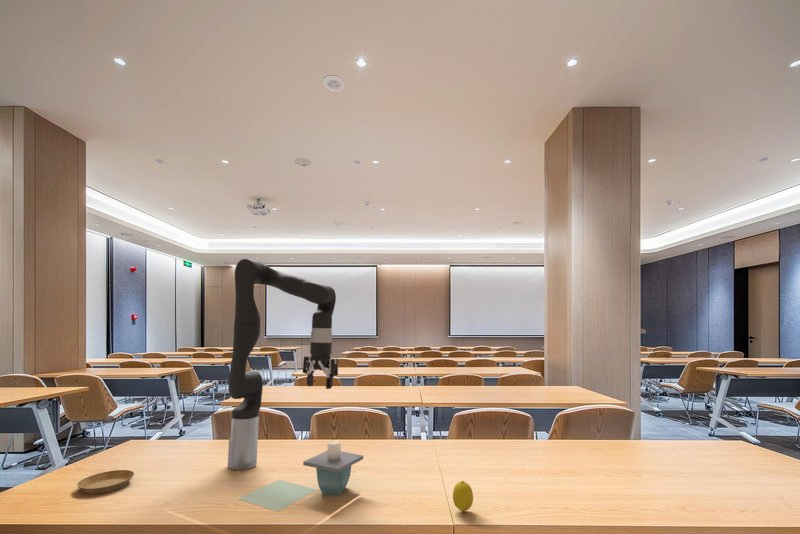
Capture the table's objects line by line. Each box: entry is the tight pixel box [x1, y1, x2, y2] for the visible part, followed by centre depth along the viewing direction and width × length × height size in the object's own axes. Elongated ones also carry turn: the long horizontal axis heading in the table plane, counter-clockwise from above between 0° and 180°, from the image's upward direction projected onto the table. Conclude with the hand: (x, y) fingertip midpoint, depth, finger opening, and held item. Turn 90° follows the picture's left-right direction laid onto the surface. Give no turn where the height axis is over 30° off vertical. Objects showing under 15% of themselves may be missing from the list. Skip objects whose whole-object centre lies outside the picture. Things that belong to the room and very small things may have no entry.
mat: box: [238, 479, 318, 512], centre depth 119 cm, size 16×16×1 cm
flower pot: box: [315, 465, 352, 496], centre depth 122 cm, size 9×9×9 cm
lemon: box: [452, 480, 474, 513], centre depth 109 cm, size 6×6×8 cm
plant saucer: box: [76, 469, 135, 495], centre depth 127 cm, size 15×15×3 cm
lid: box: [302, 441, 364, 473], centre depth 123 cm, size 13×13×5 cm
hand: (319, 387), depth 140 cm, fingers open, 8 cm apart
